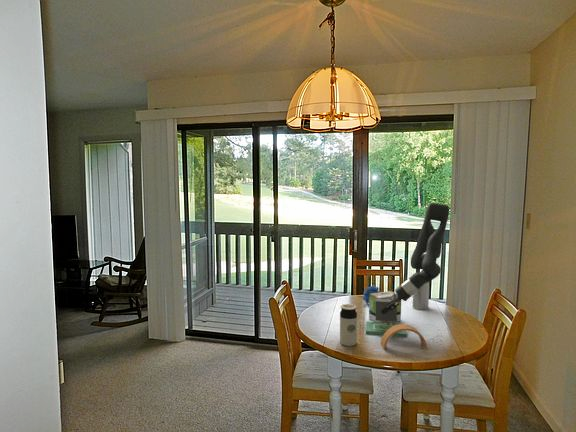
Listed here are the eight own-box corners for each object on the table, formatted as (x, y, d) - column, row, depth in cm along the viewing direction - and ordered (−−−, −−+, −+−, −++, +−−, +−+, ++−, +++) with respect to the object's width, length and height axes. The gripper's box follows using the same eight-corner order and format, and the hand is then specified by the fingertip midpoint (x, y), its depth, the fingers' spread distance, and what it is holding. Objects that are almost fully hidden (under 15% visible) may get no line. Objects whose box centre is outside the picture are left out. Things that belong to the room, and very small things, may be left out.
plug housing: (375, 317, 201) (375, 298, 200) (396, 318, 199) (396, 299, 198) (375, 320, 196) (375, 301, 195) (396, 321, 194) (396, 302, 193)
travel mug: (339, 339, 187) (339, 303, 185) (355, 339, 186) (355, 303, 185) (340, 346, 179) (341, 308, 177) (357, 346, 178) (358, 309, 177)
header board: (366, 324, 207) (366, 316, 207) (404, 326, 203) (404, 318, 202) (365, 333, 193) (365, 325, 193) (406, 337, 189) (407, 328, 189)
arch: (380, 344, 181) (381, 324, 180) (423, 344, 180) (423, 324, 180) (383, 349, 175) (383, 328, 174) (427, 349, 175) (427, 328, 174)
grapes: (376, 300, 248) (376, 282, 247) (381, 304, 242) (381, 285, 241) (359, 302, 245) (360, 284, 244) (364, 305, 239) (364, 286, 238)
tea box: (379, 324, 206) (379, 298, 205) (368, 319, 215) (368, 293, 214) (401, 320, 212) (401, 294, 211) (389, 315, 221) (390, 290, 220)
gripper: (400, 281, 201) (376, 301, 205) (402, 288, 187) (377, 310, 191) (410, 291, 201) (386, 312, 204) (413, 299, 187) (387, 321, 190)
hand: (382, 311), depth 198 cm, fingers closed on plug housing, 5 cm apart
